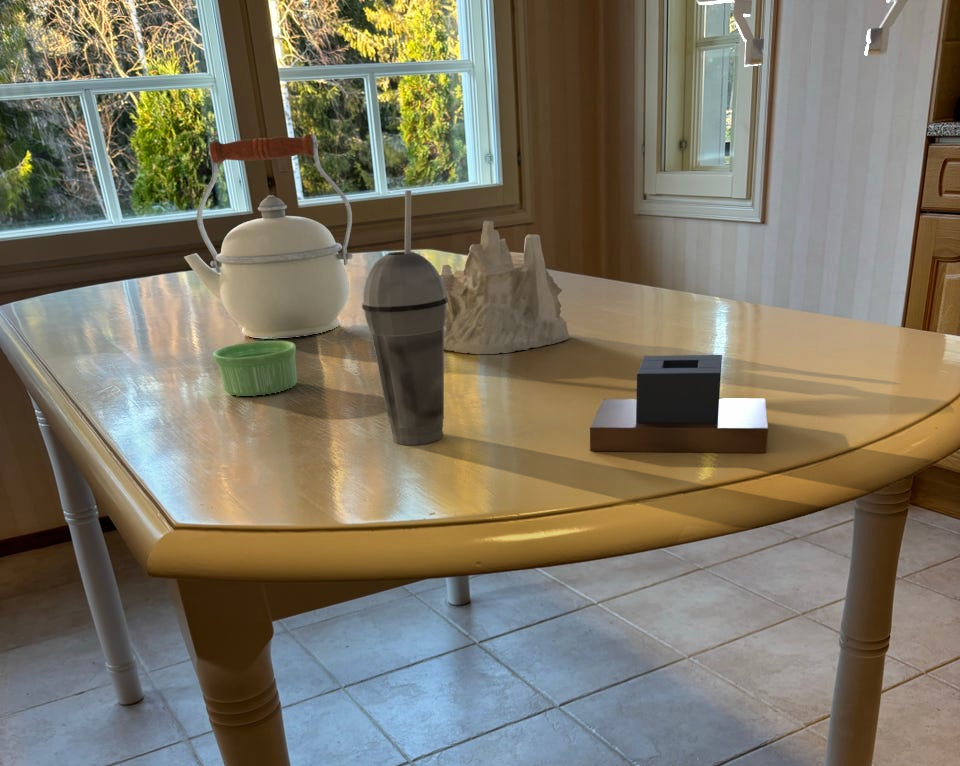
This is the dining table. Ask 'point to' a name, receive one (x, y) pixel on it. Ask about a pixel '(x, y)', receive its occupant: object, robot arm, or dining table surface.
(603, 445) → the wooden peg base
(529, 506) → the dining table surface
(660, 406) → the dark grey holed block
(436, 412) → the beverage cup
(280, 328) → the kettle
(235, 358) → the ramekin
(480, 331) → the white castle figurine
